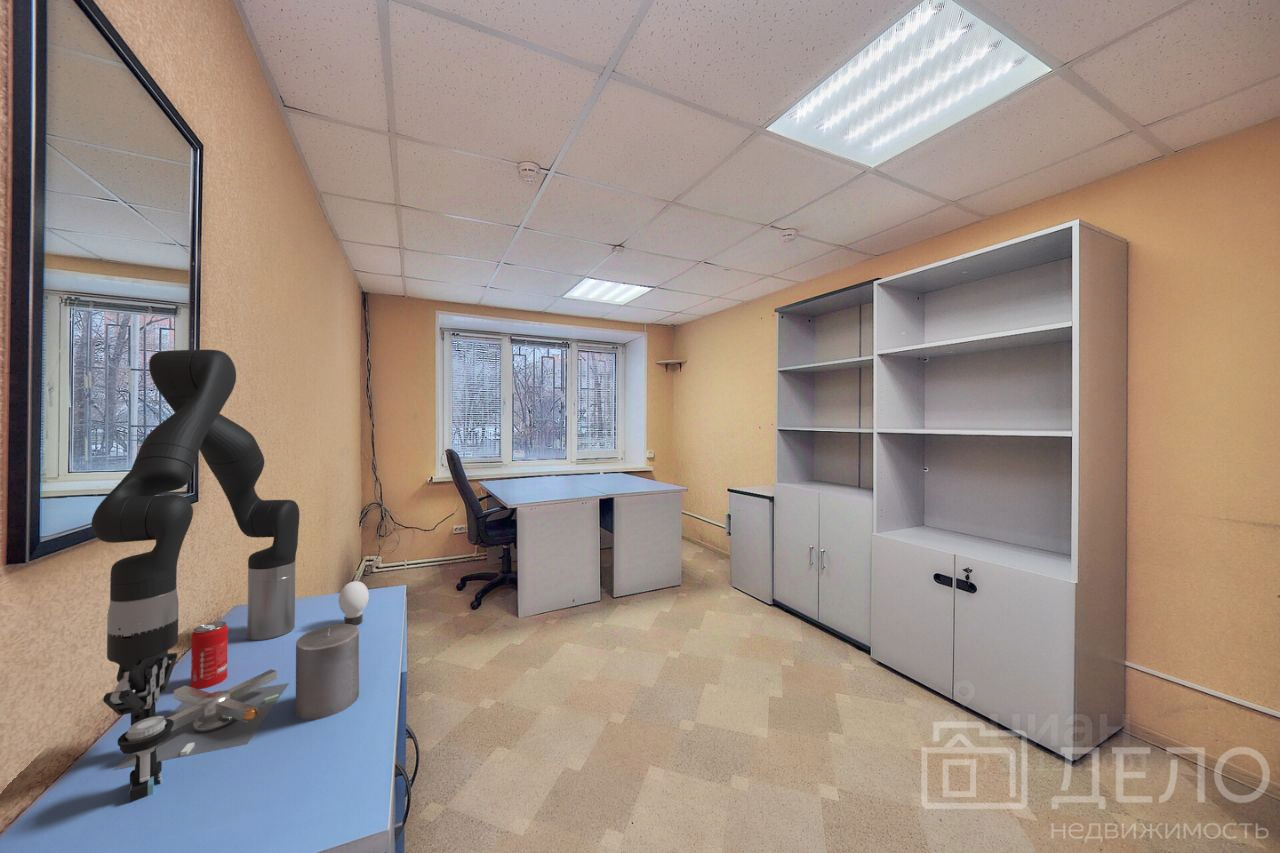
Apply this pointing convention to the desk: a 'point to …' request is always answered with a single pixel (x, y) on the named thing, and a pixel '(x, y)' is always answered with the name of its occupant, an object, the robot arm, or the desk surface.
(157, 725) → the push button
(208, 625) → the beverage can
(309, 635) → the pillar candle
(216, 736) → the stand
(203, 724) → the capstan
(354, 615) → the light bulb
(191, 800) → the desk surface
